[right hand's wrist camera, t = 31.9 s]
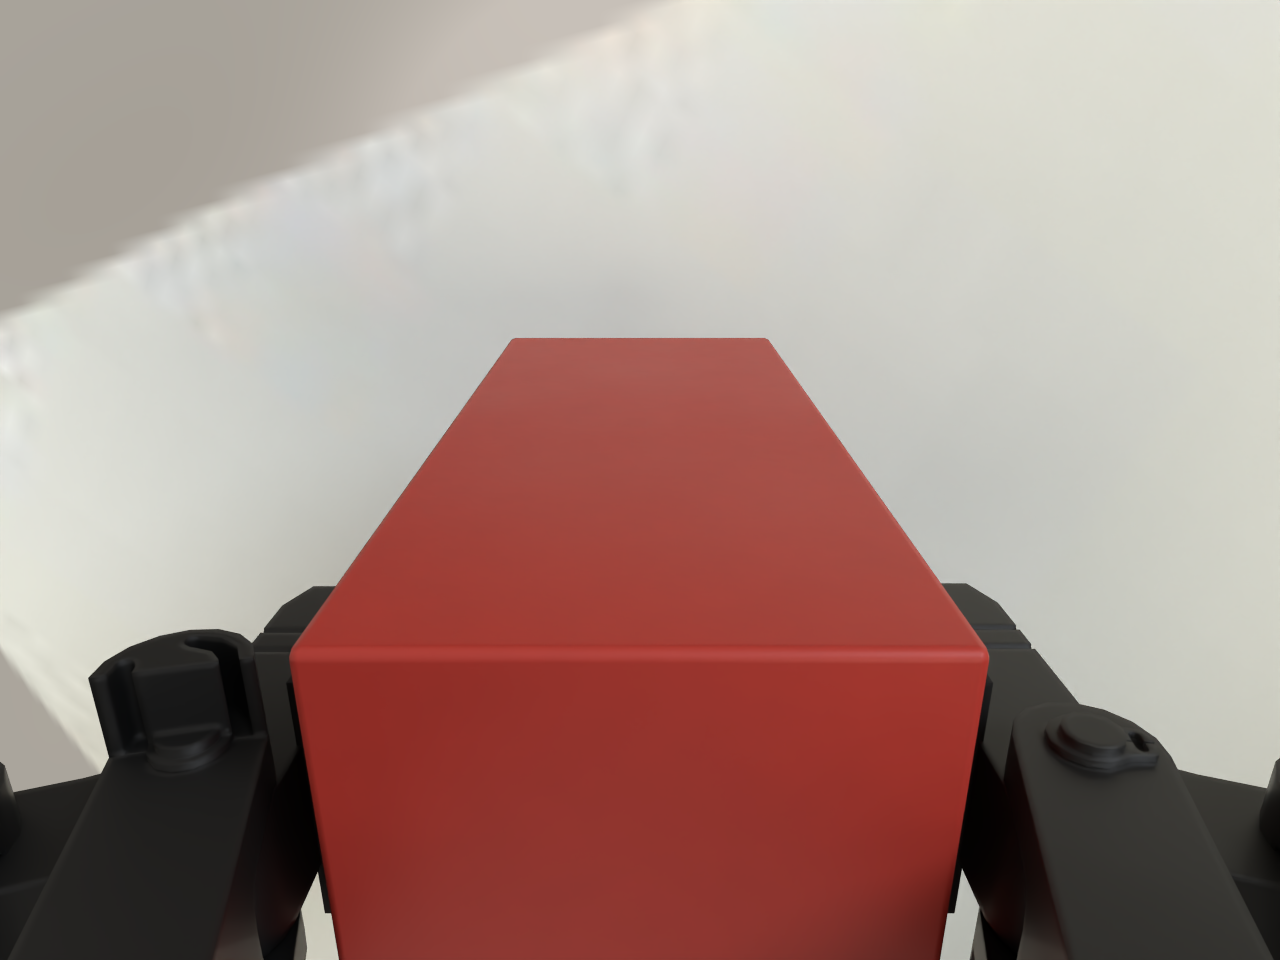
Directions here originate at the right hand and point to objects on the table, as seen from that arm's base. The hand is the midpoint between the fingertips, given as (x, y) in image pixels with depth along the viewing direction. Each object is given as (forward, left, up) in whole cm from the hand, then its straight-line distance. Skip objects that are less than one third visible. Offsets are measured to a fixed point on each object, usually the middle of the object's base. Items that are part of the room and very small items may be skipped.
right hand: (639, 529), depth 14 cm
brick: (0, 0, -3) cm, 3 cm away
